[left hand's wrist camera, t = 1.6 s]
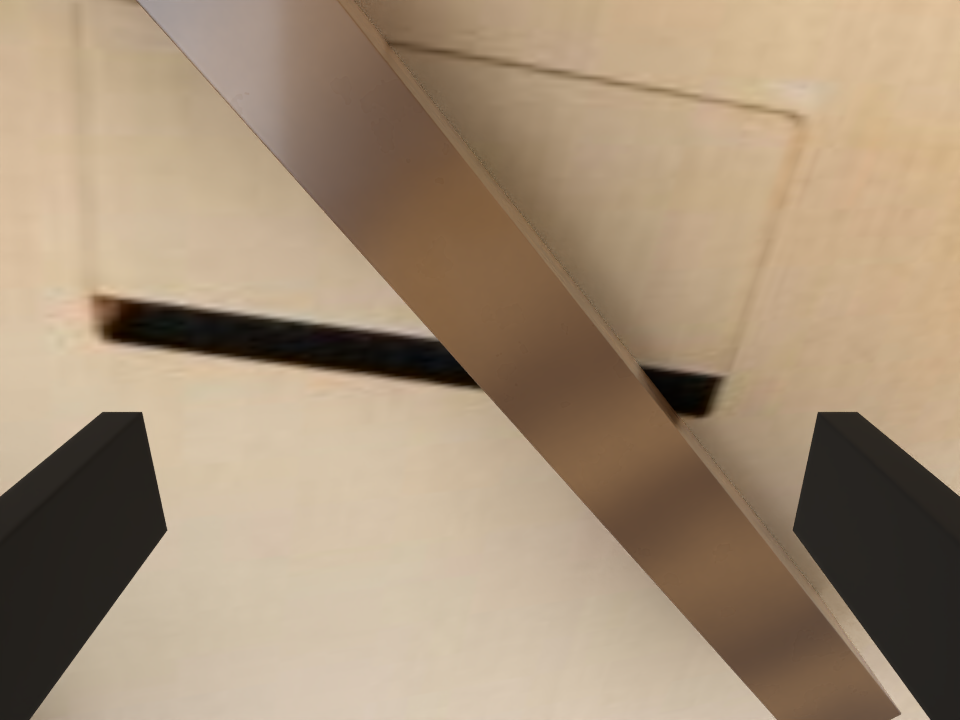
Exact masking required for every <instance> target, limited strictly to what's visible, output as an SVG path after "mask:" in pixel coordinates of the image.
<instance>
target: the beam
mask: <svg viewBox="0 0 960 720" xmlns="http://www.w3.org/2000/svg"><path fill="white" fill-rule="evenodd" d="M136 1H137V2H138V3H139V4H140V5H141V7H142V8H143V9H144V10H145V11H146V12H147V13H148V14H149V16H150V17H151V18H152V19H153V20H154V21H155V22H156V23H157V25H158V26H159V27H160V28H161V29H162V30H163V31H164V32H165V33H166V35H167V36H168V37H169V38H170V39H171V40H172V41H173V42H174V44H175V45H176V46H177V47H178V48H179V49H180V50H181V51H182V53H183V54H184V55H185V56H186V57H187V58H188V59H189V60H190V62H191V63H192V64H193V65H194V66H195V67H196V68H197V69H198V71H199V72H200V73H201V74H202V75H203V76H204V77H205V78H206V79H207V81H208V82H209V83H210V84H211V85H212V86H213V87H214V88H215V90H216V91H217V92H218V93H219V94H220V95H221V96H222V97H223V99H224V100H225V101H226V102H227V103H228V104H229V105H230V106H231V108H232V109H233V110H234V111H235V112H236V113H237V114H238V115H239V117H240V118H241V119H242V120H243V121H244V122H245V123H246V124H247V125H248V127H249V128H250V129H251V130H252V131H253V132H254V133H255V134H256V136H257V137H258V138H259V139H260V140H261V141H262V142H263V143H264V145H265V146H266V147H267V148H268V149H269V150H270V151H271V152H272V154H273V155H274V156H275V157H276V158H277V159H278V160H279V161H280V163H281V164H282V165H283V166H284V167H285V168H286V169H287V170H288V171H289V173H290V174H291V175H292V176H293V177H294V178H295V179H296V180H297V182H298V183H299V184H300V185H301V186H302V187H303V188H304V189H305V191H306V192H307V193H308V194H309V195H310V196H311V197H312V198H313V200H314V201H315V202H316V203H317V204H318V205H319V206H320V207H321V209H322V210H323V211H324V212H325V213H326V214H327V215H328V216H329V218H330V219H331V220H332V221H333V222H334V223H335V224H336V225H337V226H338V228H339V229H340V230H341V231H342V232H343V233H344V234H345V235H346V237H347V238H348V239H349V240H350V241H351V242H352V243H353V244H354V246H355V247H356V248H357V249H358V250H359V251H360V252H361V253H362V255H363V256H364V257H365V258H366V259H367V260H368V261H369V262H370V264H371V265H372V266H373V267H374V268H375V269H376V270H377V271H378V272H379V274H380V275H381V276H382V277H383V278H384V279H385V280H386V281H387V283H388V284H389V285H390V286H391V287H392V288H393V289H394V290H395V292H396V293H397V294H398V295H399V296H400V297H401V298H402V299H403V301H404V302H405V303H406V304H407V305H408V306H409V307H410V308H411V310H412V311H413V312H414V313H415V314H416V315H417V316H418V317H419V318H420V320H421V321H422V322H423V323H424V324H425V325H426V326H427V327H428V329H429V330H430V331H431V332H432V333H433V334H434V335H435V336H436V338H437V339H438V340H439V341H440V342H441V343H442V344H443V345H444V347H445V348H446V349H447V350H448V351H449V352H450V353H451V354H452V356H453V357H454V358H455V359H456V360H457V361H458V362H459V363H460V364H461V366H462V367H463V368H464V369H465V370H466V371H467V372H468V373H469V375H470V376H471V377H472V378H473V379H474V380H475V381H476V382H477V384H478V385H479V386H480V387H481V388H482V389H483V390H484V391H485V393H486V394H487V395H488V396H489V397H490V398H491V399H492V400H493V402H494V403H495V404H496V405H497V406H498V407H499V408H500V409H501V411H502V412H503V413H504V414H505V415H506V416H507V417H508V418H509V419H510V421H511V422H512V423H513V424H514V425H515V426H516V427H517V428H518V430H519V431H520V432H521V433H522V434H523V435H524V436H525V437H526V439H527V440H528V441H529V442H530V443H531V444H532V445H533V446H534V448H535V449H536V450H537V451H538V452H539V453H540V454H541V455H542V457H543V458H544V459H545V460H546V461H547V462H548V463H549V464H550V465H551V467H552V468H553V469H554V470H555V471H556V472H557V473H558V474H559V476H560V477H561V478H562V479H563V480H564V481H565V482H566V483H567V485H568V486H569V487H570V488H571V489H572V490H573V491H574V492H575V494H576V495H577V496H578V497H579V498H580V499H581V500H582V501H583V503H584V504H585V505H586V506H587V507H588V508H589V509H590V510H591V511H592V513H593V514H594V515H595V516H596V517H597V518H598V519H599V520H600V522H601V523H602V524H603V525H604V526H605V527H606V528H607V529H608V531H609V532H610V533H611V534H612V535H613V536H614V537H615V538H616V540H617V541H618V542H619V543H620V544H621V545H622V546H623V547H624V549H625V550H626V551H627V552H628V553H629V554H630V555H631V556H632V557H633V559H634V560H635V561H636V562H637V563H638V564H639V565H640V566H641V568H642V569H643V570H644V571H645V572H646V573H647V574H648V575H649V577H650V578H651V579H652V580H653V581H654V582H655V583H656V584H657V586H658V587H659V588H660V589H661V590H662V591H663V592H664V593H665V595H666V596H667V597H668V598H669V599H670V600H671V601H672V602H673V604H674V605H675V606H676V607H677V608H678V609H679V610H680V611H681V612H682V614H683V615H684V616H685V617H686V618H687V619H688V620H689V621H690V623H691V624H692V625H693V626H694V627H695V628H696V629H697V630H698V632H699V633H700V634H701V635H702V636H703V637H704V638H705V639H706V641H707V642H708V643H709V644H710V645H711V646H712V647H713V648H714V650H715V651H716V652H717V653H718V654H719V655H720V656H721V657H722V658H723V660H724V661H725V662H726V663H727V664H728V665H729V666H730V667H731V669H732V670H733V671H734V672H735V673H736V674H737V675H738V676H739V678H740V679H741V680H742V681H743V682H744V683H745V684H746V685H747V687H748V688H749V689H750V690H751V691H752V692H753V693H754V694H755V696H756V697H757V698H758V699H759V700H760V701H761V702H762V703H763V704H764V706H765V707H766V708H767V709H768V710H769V711H770V712H771V713H772V715H773V716H774V717H775V718H776V719H777V720H891V719H893V718H895V717H897V716H899V715H901V712H900V711H899V709H898V708H897V706H896V705H895V704H894V702H893V701H892V699H891V698H890V696H889V695H888V693H887V692H886V691H885V689H884V688H883V686H882V685H881V683H880V682H879V681H878V679H877V678H876V676H875V675H874V673H873V672H872V671H871V669H870V668H869V666H868V665H867V663H866V662H865V661H864V659H863V658H862V656H861V655H860V653H859V652H858V650H857V649H856V648H855V646H854V645H853V643H852V642H851V640H850V639H849V638H848V636H847V635H846V633H845V632H844V630H843V629H842V628H841V626H840V625H839V623H838V622H837V620H836V619H835V617H834V616H833V615H832V613H831V612H830V610H829V609H828V607H827V606H826V605H825V603H824V602H823V600H822V599H821V597H820V596H819V595H818V594H817V592H816V591H815V590H814V588H813V587H812V586H811V585H810V583H809V582H808V581H807V579H806V578H805V577H804V576H803V574H802V573H801V572H800V571H799V569H798V568H797V567H796V565H795V564H794V563H793V562H792V560H791V559H790V558H789V556H788V555H787V554H786V553H785V551H784V550H783V549H782V547H781V546H780V545H779V544H778V542H777V541H776V540H775V539H774V537H773V536H772V535H771V533H770V532H769V531H768V530H767V528H766V527H765V526H764V524H763V523H762V522H761V521H760V519H759V518H758V517H757V515H756V514H755V513H754V512H753V510H752V509H751V508H750V507H749V505H748V504H747V503H746V501H745V500H744V499H743V498H742V496H741V495H740V494H739V492H738V491H737V490H736V489H735V487H734V486H733V485H732V483H731V482H730V481H729V480H728V478H727V477H726V476H725V475H724V473H723V472H722V471H721V469H720V468H719V467H718V466H717V464H716V463H715V462H714V460H713V459H712V458H711V457H710V455H709V454H708V453H707V451H706V450H705V449H704V448H703V446H702V445H701V444H700V443H699V441H698V440H697V439H696V437H695V436H694V435H693V434H692V432H691V431H690V430H689V428H688V427H687V426H686V425H685V423H684V422H683V421H682V419H681V418H680V417H679V416H678V414H677V413H676V412H675V411H674V409H673V408H672V407H671V405H670V404H669V403H668V402H667V400H666V399H665V398H664V396H663V395H662V394H661V393H660V391H659V390H658V389H657V387H656V386H655V385H654V384H653V382H652V381H651V380H650V379H649V377H648V376H647V375H646V373H645V372H644V371H643V370H642V368H641V367H640V366H639V364H638V363H637V362H636V361H635V359H634V358H633V357H632V355H631V354H630V353H629V352H628V350H627V349H626V348H625V347H624V345H623V344H622V343H621V341H620V340H619V339H618V338H617V336H616V335H615V334H614V332H613V331H612V330H611V329H610V327H609V326H608V325H607V323H606V322H605V321H604V320H603V318H602V317H601V316H600V315H599V313H598V312H597V311H596V309H595V308H594V307H593V306H592V304H591V303H590V302H589V300H588V299H587V298H586V297H585V295H584V294H583V293H582V292H581V290H580V289H579V288H578V286H577V285H576V284H575V283H574V281H573V280H572V279H571V277H570V276H569V275H568V274H567V272H566V271H565V270H564V268H563V267H562V266H561V265H560V263H559V262H558V261H557V260H556V258H555V257H554V256H553V254H552V253H551V252H550V251H549V249H548V248H547V247H546V245H545V244H544V243H543V242H542V240H541V239H540V238H539V236H538V235H537V234H536V233H535V231H534V230H533V229H532V228H531V226H530V225H529V224H528V222H527V221H526V220H525V219H524V217H523V216H522V215H521V213H520V212H519V211H518V210H517V208H516V207H515V206H514V204H513V203H512V202H511V201H510V199H509V198H508V197H507V196H506V194H505V193H504V192H503V190H502V189H501V188H500V187H499V185H498V184H497V183H496V181H495V180H494V179H493V178H492V176H491V175H490V174H489V172H488V171H487V170H486V169H485V167H484V166H483V165H482V164H481V162H480V161H479V160H478V158H477V157H476V156H475V155H474V153H473V152H472V151H471V149H470V148H469V147H468V146H467V144H466V143H465V142H464V140H463V139H462V138H461V137H460V135H459V134H458V133H457V132H456V130H455V129H454V128H453V126H452V125H451V124H450V123H449V121H448V120H447V119H446V117H445V116H444V115H443V114H442V112H441V111H440V110H439V108H438V107H437V106H436V105H435V103H434V102H433V101H432V100H431V98H430V97H429V96H428V94H427V93H426V92H425V91H424V89H423V88H422V87H421V85H420V84H419V83H418V82H417V80H416V79H415V78H414V76H413V75H412V74H411V73H410V71H409V70H408V69H407V68H406V66H405V65H404V64H403V62H402V61H401V60H400V59H399V57H398V56H397V55H396V53H395V52H394V51H393V50H392V48H391V47H390V46H389V45H388V43H387V42H386V41H385V39H384V38H383V37H382V36H381V34H380V33H379V32H378V30H377V29H376V28H375V27H374V25H373V24H372V23H371V21H370V20H369V19H368V18H367V16H366V15H365V14H364V13H363V11H362V10H361V9H360V7H359V6H358V5H357V4H356V2H355V1H354V0H136Z"/></svg>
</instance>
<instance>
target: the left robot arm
mask: <svg viewBox="0 0 960 720" xmlns="http://www.w3.org/2000/svg"><path fill="white" fill-rule="evenodd" d="M166 531H167V527H166V522H165V518H164V513H163V508H162V504H161V499H160V494H159V489H158V485H157V480H156V475H155V471H154V466H153V461H152V457H151V452H150V447H149V442H148V438H147V433H146V428H145V424H144V419H143V414H142V412H102V413H101V414H100V415H99V416H97V417H96V418H95V419H94V420H92V421H91V422H90V423H89V424H88V425H86V426H85V427H84V428H83V429H82V430H80V431H79V432H78V433H77V434H76V435H74V436H73V437H72V438H71V439H69V440H68V441H67V442H66V443H65V444H63V445H62V446H61V447H60V448H59V449H57V450H56V451H55V452H54V453H53V454H51V455H50V456H49V457H48V458H46V459H45V460H44V461H43V462H42V463H40V464H39V465H38V466H37V467H36V468H34V469H33V470H32V471H31V472H30V473H28V474H27V475H26V476H25V477H23V478H22V479H21V480H20V481H19V482H17V483H16V484H15V485H14V486H13V487H11V488H10V489H9V490H8V491H7V492H5V493H4V494H3V495H2V496H0V720H30V718H31V717H32V716H33V714H34V713H35V711H36V710H37V709H38V707H39V706H40V705H41V703H42V702H43V700H44V699H45V698H46V696H47V695H48V694H49V692H50V691H51V689H52V688H53V687H54V685H55V684H56V683H57V681H58V680H59V678H60V677H61V676H62V674H63V673H64V672H65V670H66V669H67V667H68V666H69V665H70V663H71V662H72V661H73V659H74V658H75V656H76V655H77V654H78V652H79V651H80V650H81V648H82V647H83V645H84V644H85V643H86V641H87V640H88V639H89V637H90V636H91V634H92V633H93V632H94V630H95V629H96V628H97V626H98V625H99V623H100V622H101V621H102V619H103V618H104V617H105V615H106V614H107V612H108V611H109V610H110V608H111V607H112V606H113V604H114V603H115V601H116V600H117V599H118V597H119V596H120V595H121V593H122V592H123V590H124V589H125V588H126V586H127V585H128V584H129V582H130V581H131V579H132V578H133V577H134V575H135V574H136V573H137V571H138V570H139V568H140V567H141V566H142V564H143V563H144V562H145V560H146V559H147V557H148V556H149V555H150V553H151V552H152V551H153V549H154V548H155V546H156V545H157V544H158V542H159V541H160V540H161V538H162V537H163V535H164V534H165V533H166ZM793 531H794V533H795V534H796V535H797V537H798V538H799V540H800V541H801V542H802V544H803V545H804V546H805V548H806V549H807V551H808V552H809V553H810V555H811V556H812V557H813V559H814V560H815V562H816V563H817V564H818V566H819V567H820V568H821V570H822V571H823V573H824V574H825V575H826V577H827V578H828V579H829V581H830V582H831V584H832V585H833V586H834V588H835V589H836V590H837V592H838V593H839V595H840V596H841V597H842V599H843V600H844V601H845V603H846V604H847V606H848V607H849V608H850V610H851V611H852V612H853V614H854V615H855V617H856V618H857V619H858V621H859V622H860V623H861V625H862V626H863V628H864V629H865V630H866V632H867V633H868V634H869V636H870V637H871V639H872V640H873V641H874V643H875V644H876V645H877V647H878V648H879V650H880V651H881V652H882V654H883V655H884V656H885V658H886V659H887V661H888V662H889V663H890V665H891V666H892V667H893V669H894V670H895V672H896V673H897V674H898V676H899V677H900V678H901V680H902V681H903V683H904V684H905V685H906V687H907V688H908V689H909V691H910V692H911V694H912V695H913V696H914V698H915V699H916V700H917V702H918V703H919V705H920V706H921V707H922V709H923V710H924V711H925V713H926V714H927V716H928V717H929V718H930V720H960V496H958V495H957V494H956V493H955V492H953V491H952V490H951V489H950V488H949V487H947V486H946V485H945V484H944V483H943V482H941V481H940V480H939V479H938V478H937V477H935V476H934V475H933V474H932V473H930V472H929V471H928V470H927V469H926V468H924V467H923V466H922V465H921V464H920V463H918V462H917V461H916V460H915V459H914V458H912V457H911V456H910V455H909V454H907V453H906V452H905V451H904V450H903V449H901V448H900V447H899V446H898V445H897V444H895V443H894V442H893V441H892V440H891V439H889V438H888V437H887V436H886V435H884V434H883V433H882V432H881V431H880V430H878V429H877V428H876V427H875V426H874V425H872V424H871V423H870V422H869V421H868V420H866V419H865V418H864V417H863V416H861V415H860V414H859V413H858V412H818V414H817V419H816V424H815V428H814V433H813V438H812V442H811V447H810V452H809V457H808V461H807V466H806V471H805V475H804V480H803V485H802V489H801V494H800V499H799V504H798V508H797V513H796V518H795V522H794V527H793Z"/></svg>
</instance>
